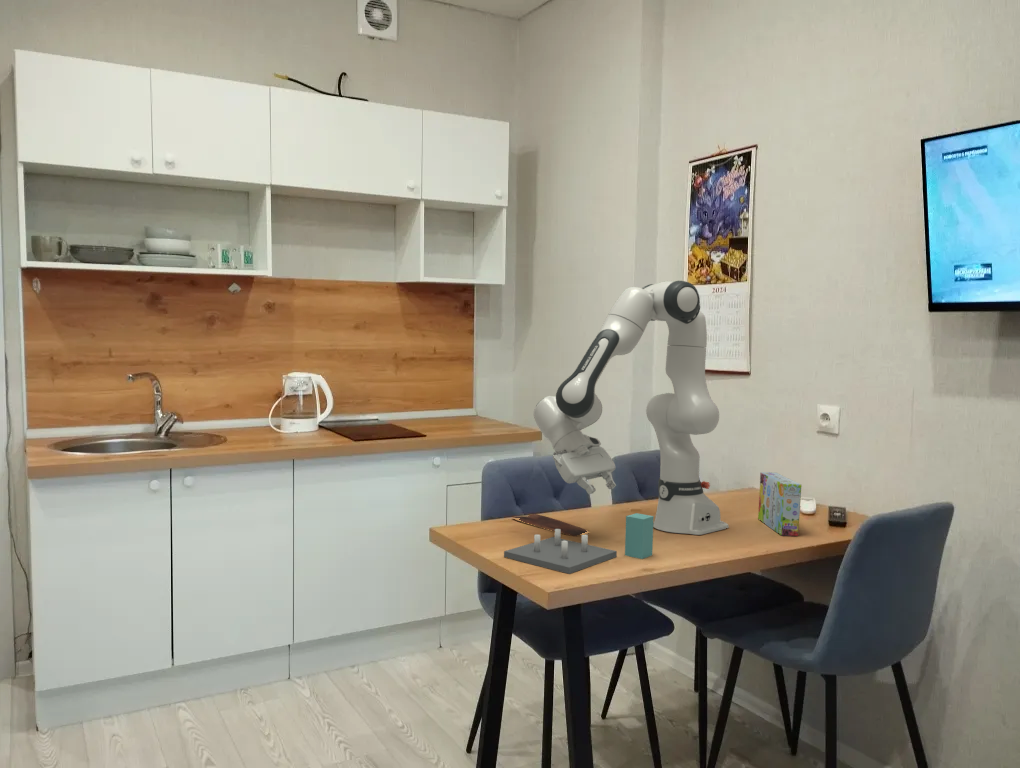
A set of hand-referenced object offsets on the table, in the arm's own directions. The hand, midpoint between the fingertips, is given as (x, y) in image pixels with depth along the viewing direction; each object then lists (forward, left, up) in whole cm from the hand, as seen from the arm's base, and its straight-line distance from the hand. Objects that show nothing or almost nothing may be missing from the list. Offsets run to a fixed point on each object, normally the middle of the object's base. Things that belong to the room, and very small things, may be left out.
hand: (603, 490), depth 206 cm
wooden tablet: (-1, -25, -16) cm, 30 cm away
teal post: (-4, +11, -15) cm, 19 cm away
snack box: (-61, +5, -15) cm, 63 cm away
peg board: (+15, +4, -15) cm, 22 cm away
